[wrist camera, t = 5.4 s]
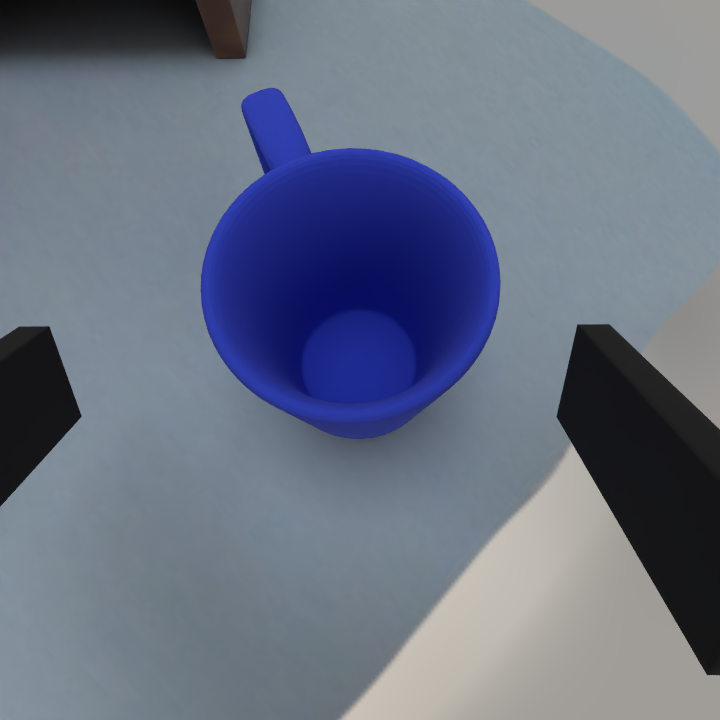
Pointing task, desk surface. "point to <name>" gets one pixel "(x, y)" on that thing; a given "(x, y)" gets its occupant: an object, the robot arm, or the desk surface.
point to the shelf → (226, 26)
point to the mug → (346, 280)
